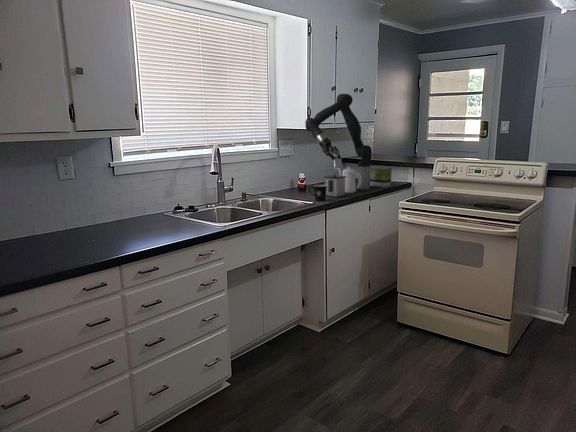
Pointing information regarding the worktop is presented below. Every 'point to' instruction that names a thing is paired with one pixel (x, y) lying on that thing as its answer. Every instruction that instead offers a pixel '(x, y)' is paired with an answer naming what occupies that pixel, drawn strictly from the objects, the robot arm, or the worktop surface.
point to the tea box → (380, 176)
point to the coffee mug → (319, 192)
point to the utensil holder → (335, 186)
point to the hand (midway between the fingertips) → (337, 158)
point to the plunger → (335, 163)
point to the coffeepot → (350, 180)
